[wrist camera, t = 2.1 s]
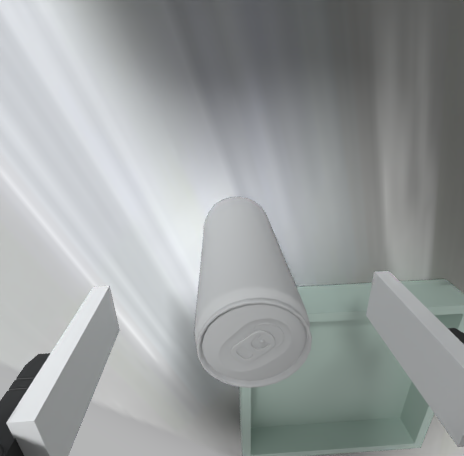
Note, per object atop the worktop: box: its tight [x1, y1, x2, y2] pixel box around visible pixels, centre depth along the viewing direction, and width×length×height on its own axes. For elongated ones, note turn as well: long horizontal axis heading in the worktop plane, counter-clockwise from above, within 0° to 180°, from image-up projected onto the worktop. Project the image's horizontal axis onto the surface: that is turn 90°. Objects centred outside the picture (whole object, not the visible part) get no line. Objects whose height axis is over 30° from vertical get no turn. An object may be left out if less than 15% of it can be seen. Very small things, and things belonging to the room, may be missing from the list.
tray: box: [239, 279, 464, 456], centre depth 28 cm, size 18×18×3 cm
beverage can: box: [194, 197, 312, 388], centre depth 17 cm, size 5×5×12 cm
